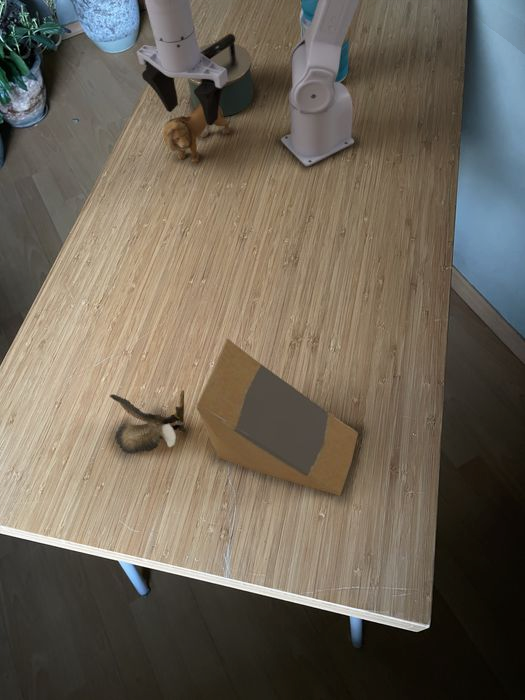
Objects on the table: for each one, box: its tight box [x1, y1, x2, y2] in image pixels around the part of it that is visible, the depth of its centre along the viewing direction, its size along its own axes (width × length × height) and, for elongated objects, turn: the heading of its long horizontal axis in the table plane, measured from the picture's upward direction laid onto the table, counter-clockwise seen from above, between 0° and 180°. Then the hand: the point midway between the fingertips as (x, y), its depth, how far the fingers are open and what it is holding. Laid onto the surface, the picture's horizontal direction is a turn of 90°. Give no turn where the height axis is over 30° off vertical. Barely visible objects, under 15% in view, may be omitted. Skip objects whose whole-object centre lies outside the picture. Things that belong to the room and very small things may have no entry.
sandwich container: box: [195, 337, 359, 496], centre depth 65 cm, size 9×15×15 cm, turn 71°
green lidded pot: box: [186, 33, 254, 117], centre depth 101 cm, size 12×12×10 cm
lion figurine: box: [161, 104, 230, 164], centre depth 95 cm, size 15×5×9 cm, turn 151°
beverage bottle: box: [299, 0, 351, 83], centre depth 98 cm, size 8×8×20 cm
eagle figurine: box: [109, 389, 186, 455], centre depth 71 cm, size 8×7×9 cm
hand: (192, 114), depth 93 cm, fingers open, 7 cm apart
